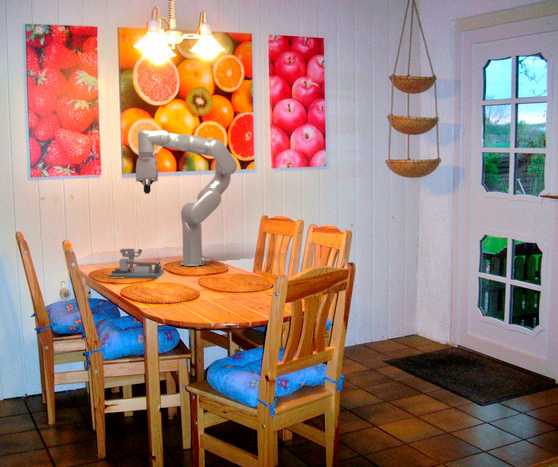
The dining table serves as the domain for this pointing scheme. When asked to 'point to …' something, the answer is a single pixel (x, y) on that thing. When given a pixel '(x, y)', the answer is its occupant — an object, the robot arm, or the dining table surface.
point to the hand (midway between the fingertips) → (147, 193)
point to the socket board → (130, 274)
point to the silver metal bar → (145, 263)
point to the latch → (124, 264)
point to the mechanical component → (130, 254)
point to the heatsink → (142, 269)
